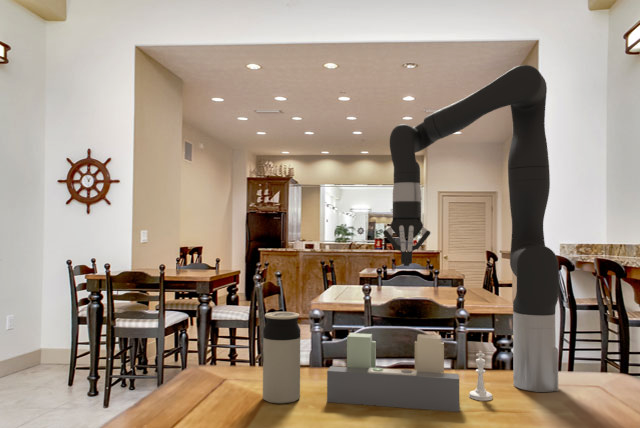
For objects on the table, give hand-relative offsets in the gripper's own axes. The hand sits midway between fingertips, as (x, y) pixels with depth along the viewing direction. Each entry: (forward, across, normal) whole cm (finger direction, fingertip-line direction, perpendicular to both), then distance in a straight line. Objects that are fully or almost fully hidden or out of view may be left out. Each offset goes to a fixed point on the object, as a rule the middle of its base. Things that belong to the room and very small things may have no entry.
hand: (406, 265), depth 141 cm
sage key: (+25, -9, -25) cm, 36 cm away
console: (+27, -2, -26) cm, 38 cm away
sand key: (+25, +6, -22) cm, 34 cm away
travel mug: (+27, -25, -32) cm, 49 cm away
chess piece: (+27, +17, -21) cm, 38 cm away
